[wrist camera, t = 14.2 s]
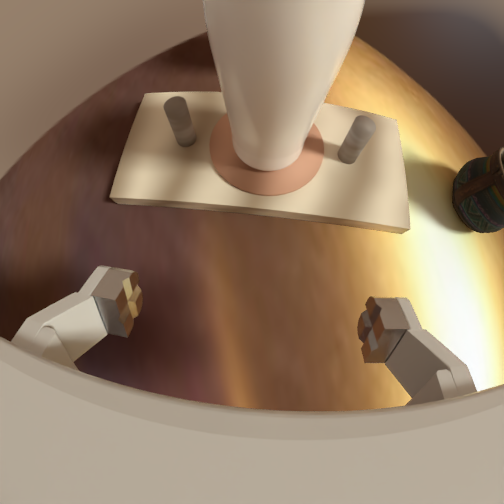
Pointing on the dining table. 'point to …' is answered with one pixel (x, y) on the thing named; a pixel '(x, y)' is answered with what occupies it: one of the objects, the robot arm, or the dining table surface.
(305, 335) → the dining table surface
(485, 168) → the mate gourd
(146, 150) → the pin board
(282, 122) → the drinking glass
